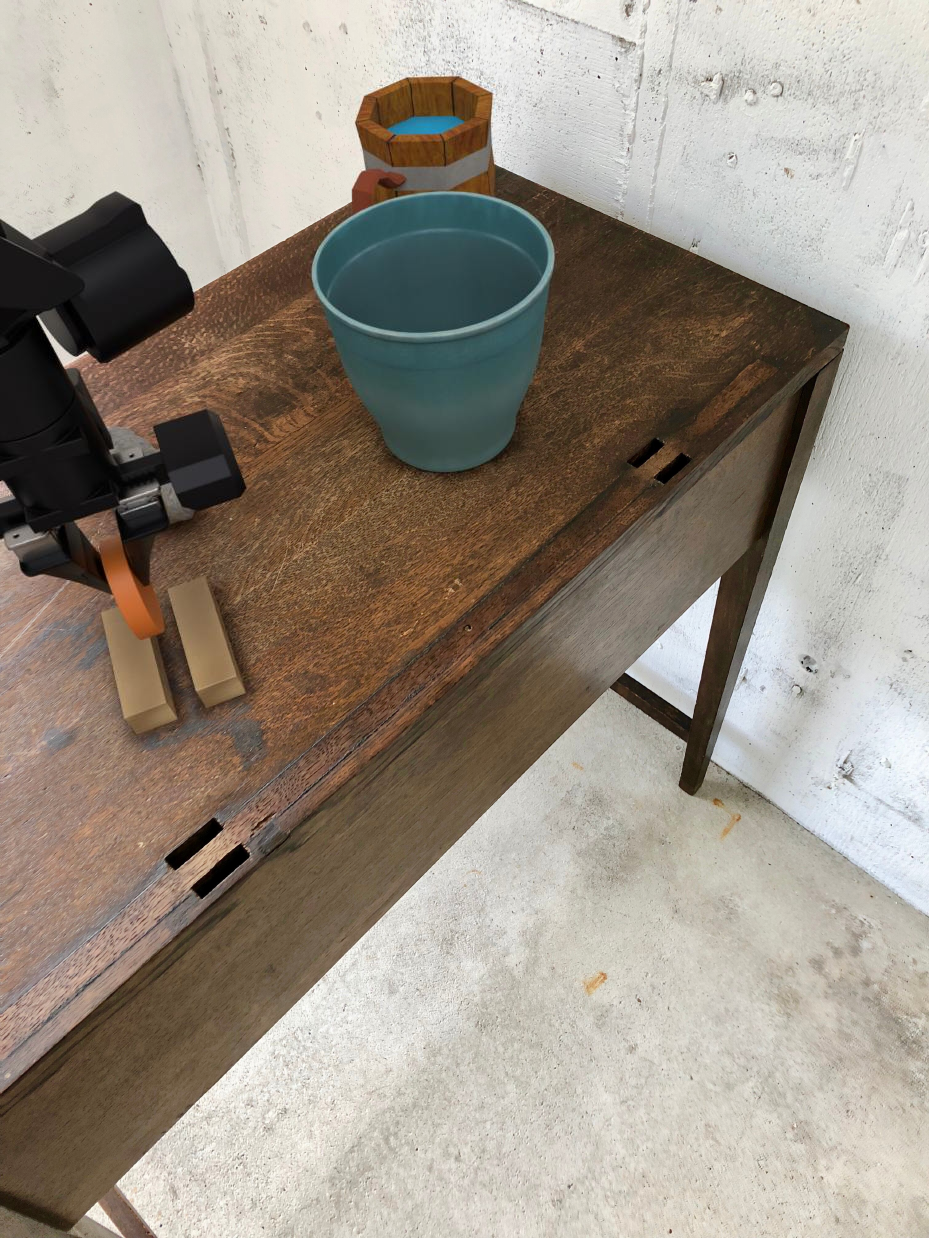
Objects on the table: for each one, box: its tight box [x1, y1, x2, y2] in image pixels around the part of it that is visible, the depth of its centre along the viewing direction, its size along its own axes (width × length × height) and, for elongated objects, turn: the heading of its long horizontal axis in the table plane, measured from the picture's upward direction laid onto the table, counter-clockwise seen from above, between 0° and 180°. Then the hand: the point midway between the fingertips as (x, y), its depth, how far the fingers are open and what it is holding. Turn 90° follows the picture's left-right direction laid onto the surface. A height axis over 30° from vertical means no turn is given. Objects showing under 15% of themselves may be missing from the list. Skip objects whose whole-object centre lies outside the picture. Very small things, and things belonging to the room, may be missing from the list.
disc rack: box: [100, 575, 247, 736], centre depth 65 cm, size 8×10×2 cm
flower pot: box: [311, 191, 556, 473], centre depth 72 cm, size 18×18×17 cm
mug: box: [351, 75, 496, 216], centre depth 87 cm, size 20×14×15 cm
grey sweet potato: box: [106, 426, 196, 525], centre depth 73 cm, size 6×14×8 cm, turn 50°
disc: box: [98, 534, 165, 640], centre depth 58 cm, size 2×7×7 cm, turn 23°
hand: (132, 585), depth 58 cm, fingers closed on disc, 1 cm apart
